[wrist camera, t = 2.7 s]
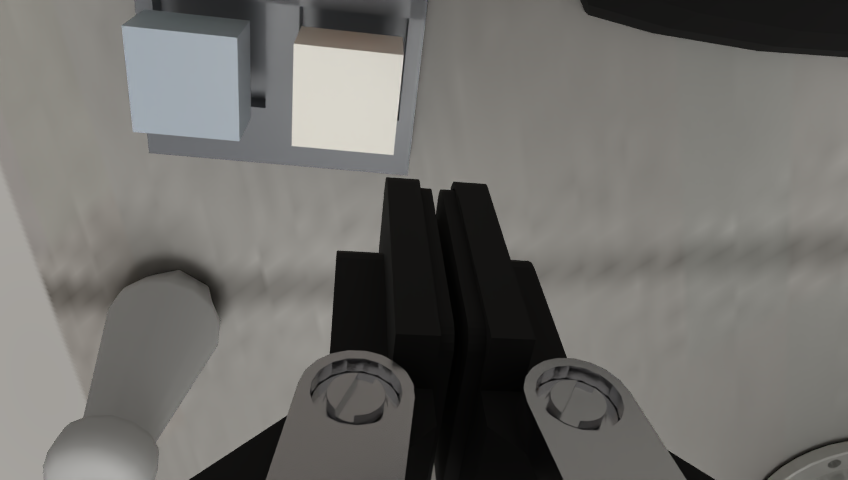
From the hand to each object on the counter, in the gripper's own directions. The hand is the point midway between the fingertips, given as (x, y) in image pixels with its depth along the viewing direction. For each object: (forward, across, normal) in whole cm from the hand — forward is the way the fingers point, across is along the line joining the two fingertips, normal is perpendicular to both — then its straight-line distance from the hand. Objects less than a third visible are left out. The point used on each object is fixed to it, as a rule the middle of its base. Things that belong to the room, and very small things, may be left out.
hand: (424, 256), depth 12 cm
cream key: (+19, +1, +3) cm, 19 cm away
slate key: (+19, +7, +3) cm, 21 cm away
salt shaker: (+22, +10, +18) cm, 30 cm away
